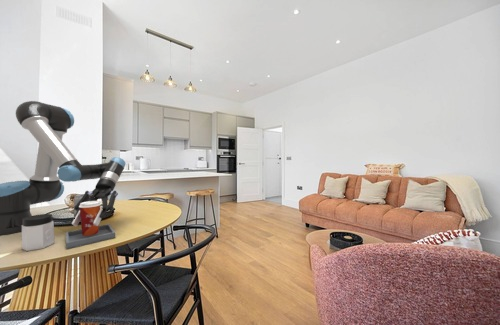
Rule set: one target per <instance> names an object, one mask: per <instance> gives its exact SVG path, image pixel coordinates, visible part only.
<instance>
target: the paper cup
mask: <svg viewBox="0 0 500 325" xmlns="http://www.w3.org/2000/svg"><path fill="white" fill-rule="evenodd" d="M101 205H102V203H101V202H100V200H96V201H88V202H83V203H80V206H79V207H80V216H81V223H80V226H81V228H80V229H82V235H83V236H90V235H94V234H97V233H98V230H99V226H100V224H99V225H98V226H96V225H95V224H93V222H94V220H95V218H96V216H97V214H98V212H99V210H101Z"/></svg>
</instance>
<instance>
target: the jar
mask: <svg viewBox="0 0 500 325" xmlns="http://www.w3.org/2000/svg"><path fill="white" fill-rule="evenodd" d="M53 219H54V217H53V214H52V213H45V214H44V213H42V214H35V215H32V216H29V217H26V218H24V219H23V225H22V231H21V249H22V250H24V251H25V252H30V251H36V250H37V251H38V250H42V249H44V248H47V247H49V246H51V245H53V244H55V231H54V230H55V229H54V227H55V226H54V223H55V222H54V220H53Z"/></svg>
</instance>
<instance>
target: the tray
mask: <svg viewBox="0 0 500 325" xmlns="http://www.w3.org/2000/svg"><path fill="white" fill-rule="evenodd" d="M112 239H116V231H115V230H114V228H113V227H112V225H111V223H107V224H103V225H101V224H100V225H99V230H98V233H97V234H94V235H90V236H83V235H82V228H80V229H75V230H71V231H66V232H65V249H66V250H70V249H74V248H78V247H82V246H86V245H91V244H95V243H100V242H103V241H107V240H112Z"/></svg>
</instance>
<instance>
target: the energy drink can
mask: <svg viewBox="0 0 500 325" xmlns="http://www.w3.org/2000/svg"><path fill="white" fill-rule="evenodd" d="M84 194H85V193H79V194H75V196H74V198H73V217H74V216H75V214H76V212H77V211H76V210H75V209H74V207H75V206H76V204H77V203H78V202H79V201H80V200H81V198H82V197H83V196H84Z"/></svg>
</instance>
